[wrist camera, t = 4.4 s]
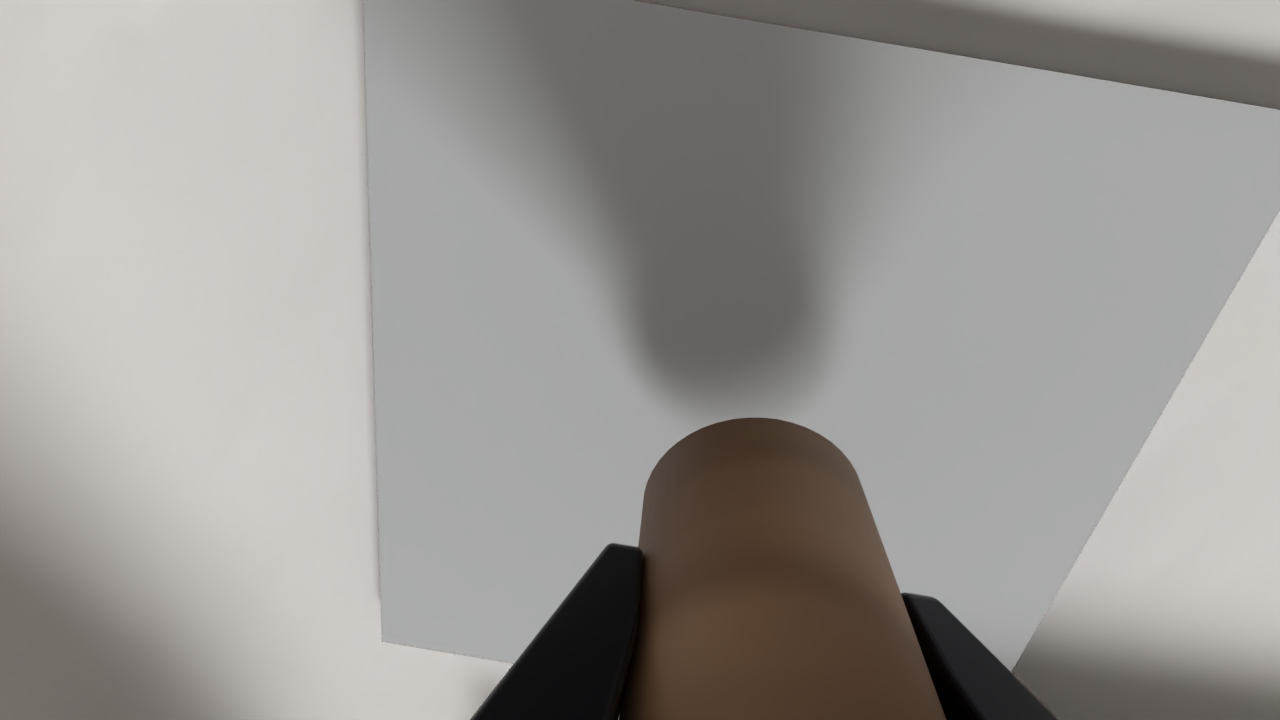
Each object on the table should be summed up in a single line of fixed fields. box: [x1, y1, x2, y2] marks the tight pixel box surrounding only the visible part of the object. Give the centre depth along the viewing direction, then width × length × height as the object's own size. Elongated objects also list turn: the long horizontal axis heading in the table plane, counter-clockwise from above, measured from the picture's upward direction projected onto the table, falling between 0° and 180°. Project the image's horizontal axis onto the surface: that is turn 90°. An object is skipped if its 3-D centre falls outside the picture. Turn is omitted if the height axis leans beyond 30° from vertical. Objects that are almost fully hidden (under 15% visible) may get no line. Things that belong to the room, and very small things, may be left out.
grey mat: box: [363, 0, 1280, 672], centre depth 11 cm, size 12×12×1 cm
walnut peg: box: [619, 418, 946, 720], centre depth 7 cm, size 3×3×6 cm
